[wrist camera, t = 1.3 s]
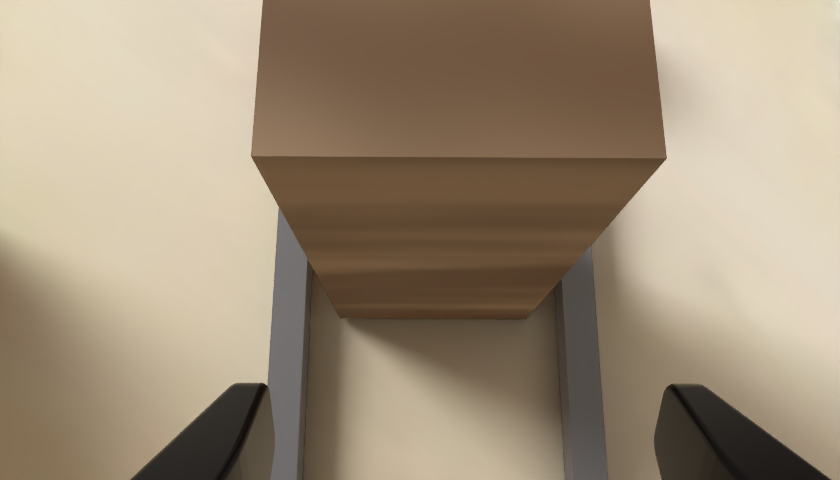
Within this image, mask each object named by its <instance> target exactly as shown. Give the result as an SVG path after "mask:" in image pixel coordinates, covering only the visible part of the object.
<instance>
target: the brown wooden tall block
mask: <svg viewBox="0 0 840 480" xmlns="http://www.w3.org/2000/svg"><path fill="white" fill-rule="evenodd" d="M251 157H252V159H253V161H254V162H255V164H256V166H257V168H258V170H259V171H260V173H261V175H262V177H263V179H264V181H265V182H266V184H267V186H268V188H269V190H270V191H271V193H272V195H273V197H274V199H275V200H276V202H277V204H278V206H279V208H280V210H281V211H282V213H283V215H284V217H285V219H286V220H287V222H288V224H289V226H290V228H291V230H292V231H293V233H294V235H295V237H296V239H297V240H298V242H299V244H300V246H301V248H302V250H303V251H304V253H305V255H306V257H307V259H308V260H309V262H310V264H311V266H312V268H313V270H314V271H315V273H316V275H317V277H318V279H319V280H320V282H321V284H322V286H323V288H324V290H325V291H326V293H327V295H328V297H329V299H330V300H331V302H332V304H333V306H334V308H335V310H336V311H337V313H338V315H339V317H340V318H364V319H527V318H528V317H529V316H530V314H531V313H532V312H533V311H534V310H535V309H536V308H537V306H538V305H539V304H540V303H541V302H542V301H543V300H544V298H545V297H546V296H547V295H548V294H549V293H550V291H551V290H552V289H553V288H554V287H555V286H556V285H557V283H558V282H559V281H560V280H561V279H562V278H563V277H564V275H565V274H566V273H567V272H568V271H569V270H570V269H571V267H572V266H573V265H574V264H575V263H576V262H577V261H578V259H579V258H580V257H581V256H582V255H583V254H584V253H585V251H586V250H587V249H588V248H589V247H590V246H591V245H592V243H593V242H594V241H595V240H596V239H597V238H598V236H599V235H600V234H601V233H602V232H603V231H604V230H605V228H606V227H607V226H608V225H609V224H610V223H611V222H612V220H613V219H614V218H615V217H616V216H617V215H618V214H619V212H620V211H621V210H622V209H623V208H624V207H625V206H626V204H627V203H628V202H629V201H630V200H631V199H632V198H633V196H634V195H635V194H636V193H637V192H638V191H639V190H640V188H641V187H642V186H643V185H644V184H645V183H646V181H647V180H648V179H649V178H650V177H651V176H652V175H653V173H654V172H655V171H656V170H657V169H658V168H659V167H660V165H661V164H662V163H663V162H664V161H665V160H666V159H667V156H666V147H665V138H664V129H663V119H662V110H661V101H660V92H659V82H658V73H657V64H656V55H655V46H654V36H653V27H652V18H651V9H650V0H263V7H262V20H261V33H260V46H259V59H258V72H257V85H256V98H255V112H254V125H253V138H252V151H251Z"/></svg>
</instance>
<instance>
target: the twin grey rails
mask: <svg viewBox="0 0 840 480" xmlns="http://www.w3.org/2000/svg"><path fill="white" fill-rule="evenodd" d="M312 269H313V268H312V266H311V264H310V262H309V260H308V259H307V257H306V255H305V253H304V251H303V250H302V248H301V246H300V244H299V242H298V240H297V239H296V237H295V235H294V233H293V231H292V230H291V228H290V226H289V224H288V222H287V220H286V219H285V217H284V215H283V213H282V211H281V210H280V208H279V212H278V228H277V244H276V260H275V275H274V291H273V307H272V323H271V339H270V355H269V371H268V388H269V391H270V397H271V406H272V414H273V422H274V431H275V450H274V458H273V465H272V472H271V479H270V480H303V462H304V440H305V419H306V398H307V376H308V355H309V334H310V312H311V291H312ZM554 290H555V308H556V326H557V344H558V362H559V380H560V398H561V417H562V435H563V453H564V471H565V480H608V472H607V458H606V444H605V430H604V417H603V403H602V389H601V375H600V361H599V347H598V333H597V319H596V305H595V291H594V277H593V264H592V250H591V246H590V247H589V248H588V249H587V250H586V251H585V253H584V254H583V255H582V256H581V257H580V258H579V259H578V261H577V262H576V263H575V264H574V265H573V266H572V267H571V269H570V270H569V271H568V272H567V273H566V274H565V275H564V277H563V278H562V279H561V280H560V281H559V282H558V283H557V285H556V286H555V287H554Z"/></svg>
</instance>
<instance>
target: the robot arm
mask: <svg viewBox="0 0 840 480" xmlns="http://www.w3.org/2000/svg"><path fill="white" fill-rule="evenodd" d="M654 447H655V454H656V458H657V462H658V466H659V471H660V475H661V479H662V480H831V479H830V478H828V477H827V476H826V475H824V474H823V473H821V472H820V471H819V470H817V469H816V468H815V467H813V466H812V465H811V464H809V463H808V462H807V461H805V460H804V459H803V458H801V457H800V456H798V455H797V454H796V453H794V452H793V451H792V450H790V449H789V448H788V447H786V446H785V445H784V444H782V443H781V442H780V441H778V440H777V439H775V438H774V437H773V436H771V435H770V434H769V433H767V432H766V431H765V430H763V429H762V428H761V427H759V426H758V425H756V424H755V423H754V422H752V421H751V420H750V419H748V418H747V417H746V416H744V415H743V414H742V413H740V412H739V411H738V410H736V409H735V408H733V407H732V406H731V405H729V404H728V403H727V402H725V401H724V400H723V399H721V398H720V397H719V396H717V395H716V394H715V393H713V392H712V391H710V390H709V389H708V388H706V387H705V386H703V385H700V384H671V385H669V386H668V387H667V388H666V389H665V391H664V394H663V398H662V403H661V407H660V411H659V416H658V420H657V425H656V429H655V434H654ZM274 450H275V431H274V422H273V414H272V406H271V397H270V391H269V388H268V386H267V385H265V384H264V383H236V384H233V385H232V386H230V387H229V388H228V389H227V390H226V391H225V392H224V393H223V394H222V395H220V396H219V397H218V398H217V399H216V400H215V401H214V402H213V403H212V404H211V405H210V406H209V407H208V408H207V409H206V410H204V411H203V412H202V413H201V414H200V415H199V416H198V417H197V418H196V419H195V420H194V421H193V422H192V423H191V424H189V425H188V426H187V427H186V428H185V429H184V430H183V431H182V432H181V433H180V434H179V435H178V436H177V437H176V438H174V439H173V440H172V441H171V442H170V443H169V444H168V445H167V446H166V447H165V448H164V449H163V450H162V451H161V452H159V453H158V454H157V455H156V456H155V457H154V458H153V459H152V460H151V461H150V462H149V463H148V464H147V465H146V466H144V467H143V468H142V469H141V470H140V471H139V472H138V473H137V474H136V475H135V476H134V477H133V478H132V479H131V480H270V479H271V472H272V465H273V458H274Z"/></svg>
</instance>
